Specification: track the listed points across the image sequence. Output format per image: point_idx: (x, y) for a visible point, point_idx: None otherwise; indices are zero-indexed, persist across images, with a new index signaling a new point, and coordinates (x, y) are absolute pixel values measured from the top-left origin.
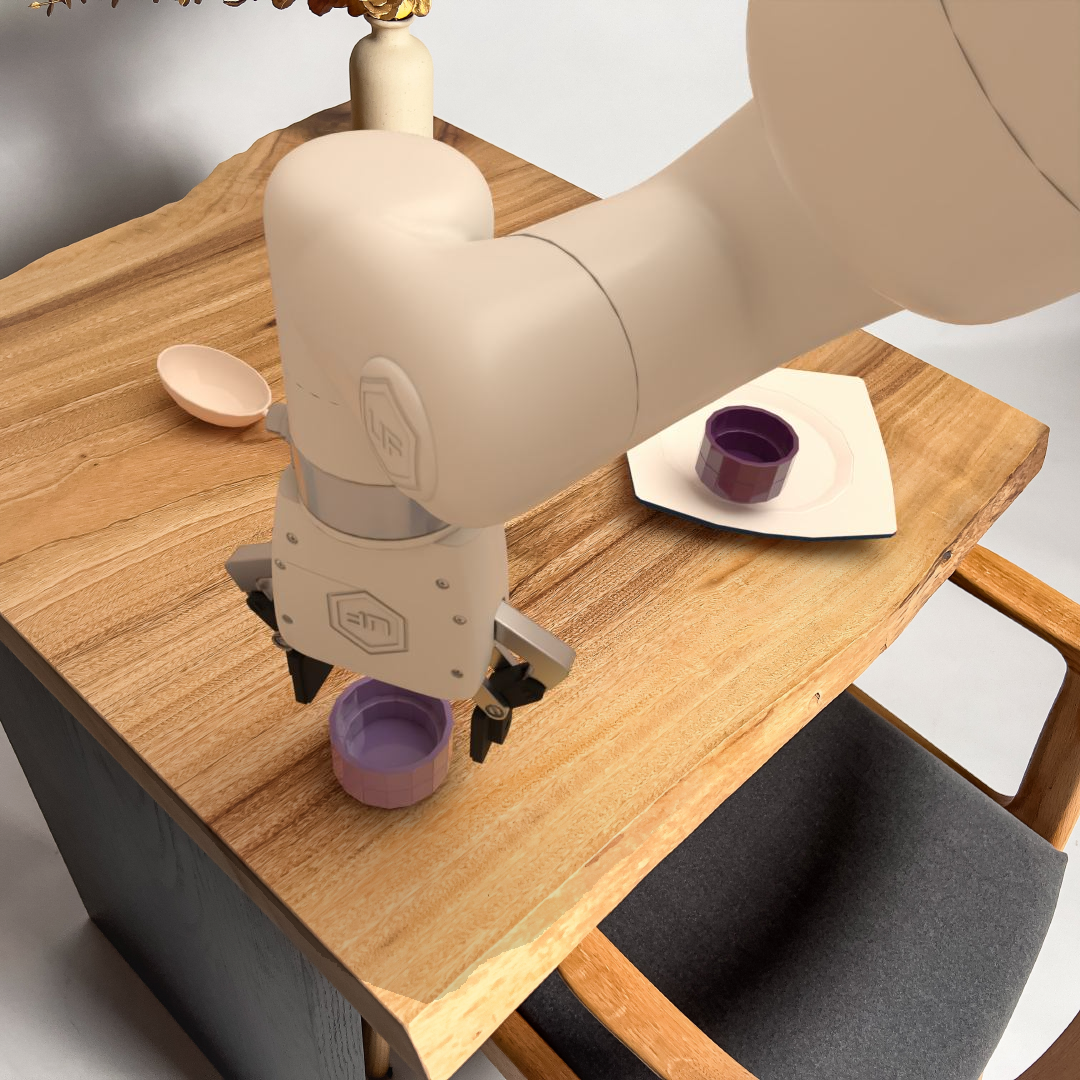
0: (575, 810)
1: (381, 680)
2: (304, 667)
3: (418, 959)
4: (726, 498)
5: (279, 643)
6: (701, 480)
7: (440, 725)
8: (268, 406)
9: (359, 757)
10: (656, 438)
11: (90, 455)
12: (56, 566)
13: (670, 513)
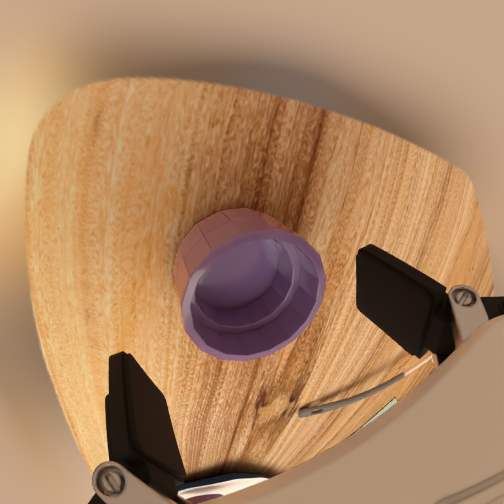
0: (74, 339)
1: (352, 453)
2: (415, 290)
3: (64, 130)
4: (197, 498)
5: (459, 290)
6: (215, 496)
7: (215, 328)
8: (432, 358)
9: (260, 245)
10: (253, 483)
11: (471, 271)
12: (467, 213)
13: (214, 480)
